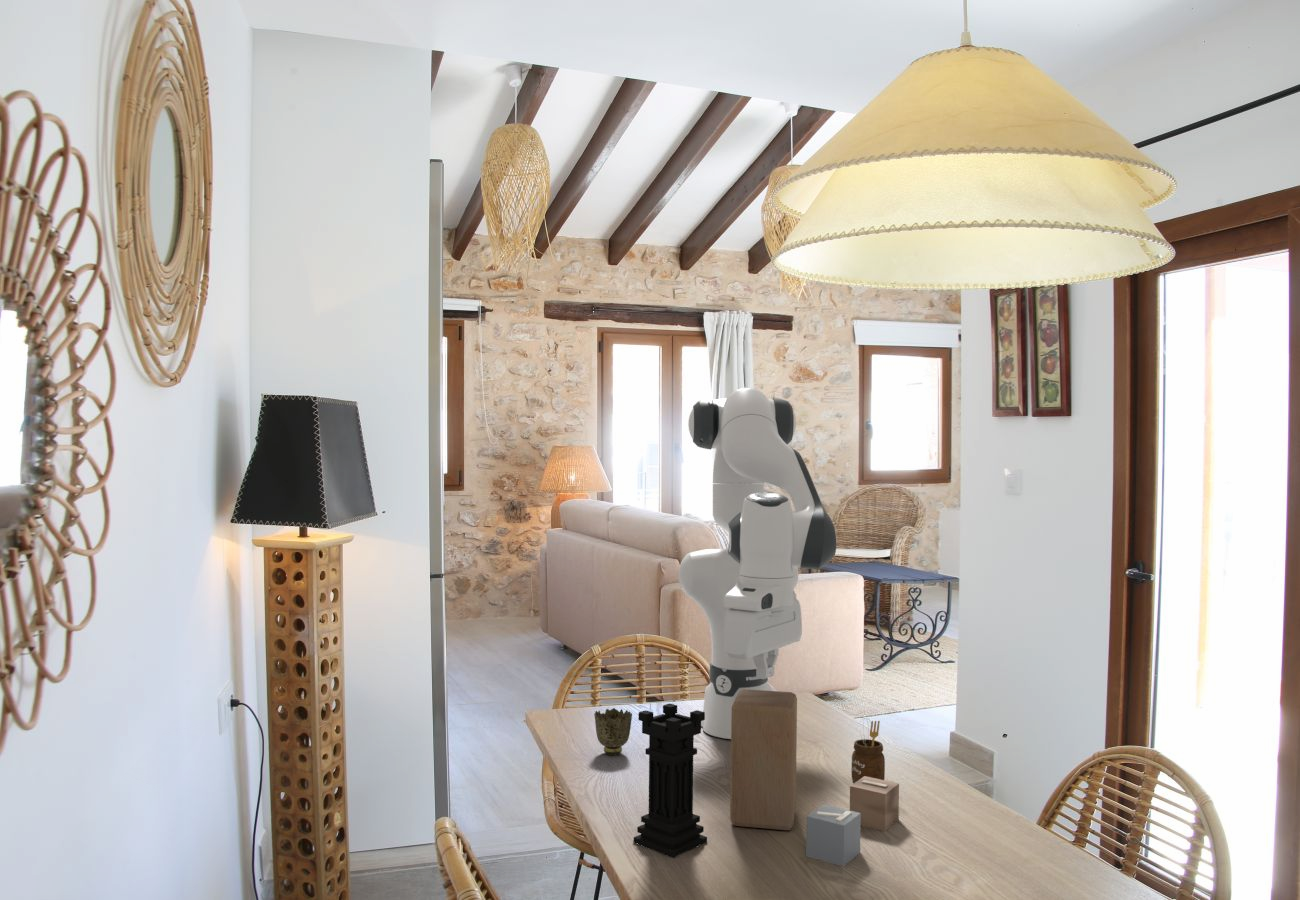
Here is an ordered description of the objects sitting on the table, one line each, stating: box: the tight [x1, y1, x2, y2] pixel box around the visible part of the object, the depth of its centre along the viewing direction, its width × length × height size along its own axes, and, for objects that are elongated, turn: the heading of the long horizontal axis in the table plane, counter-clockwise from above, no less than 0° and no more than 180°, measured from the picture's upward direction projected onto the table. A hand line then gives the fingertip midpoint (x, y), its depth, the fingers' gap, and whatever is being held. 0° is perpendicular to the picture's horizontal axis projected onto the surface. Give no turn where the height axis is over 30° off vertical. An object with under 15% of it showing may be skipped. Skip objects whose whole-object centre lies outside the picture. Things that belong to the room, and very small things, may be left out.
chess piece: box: [633, 703, 708, 859], centre depth 149 cm, size 8×8×20 cm
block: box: [729, 689, 798, 831], centre depth 159 cm, size 10×10×20 cm
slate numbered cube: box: [805, 804, 861, 867], centre depth 145 cm, size 6×6×6 cm
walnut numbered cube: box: [849, 776, 900, 832], centre depth 159 cm, size 6×6×6 cm
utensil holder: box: [851, 717, 886, 783], centre depth 177 cm, size 6×6×12 cm
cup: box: [593, 707, 633, 756], centre depth 192 cm, size 8×7×8 cm
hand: (765, 677), depth 159 cm, fingers closed
